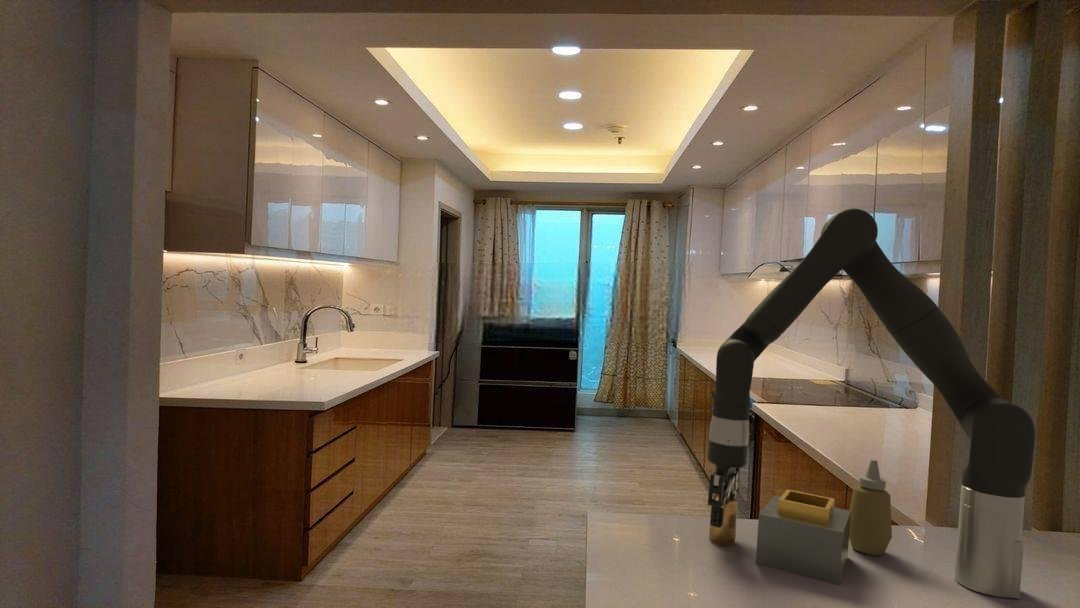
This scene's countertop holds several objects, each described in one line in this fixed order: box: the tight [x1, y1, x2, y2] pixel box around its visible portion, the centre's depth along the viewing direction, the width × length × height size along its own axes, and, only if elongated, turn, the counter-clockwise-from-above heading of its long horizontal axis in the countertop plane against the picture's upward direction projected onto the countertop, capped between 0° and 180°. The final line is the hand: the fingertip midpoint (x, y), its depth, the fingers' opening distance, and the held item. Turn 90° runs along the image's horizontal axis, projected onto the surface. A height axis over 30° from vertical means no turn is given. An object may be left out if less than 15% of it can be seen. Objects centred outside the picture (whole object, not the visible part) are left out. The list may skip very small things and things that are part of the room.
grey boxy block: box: [755, 489, 851, 585], centre depth 120 cm, size 14×15×12 cm
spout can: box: [708, 496, 739, 547], centre depth 128 cm, size 5×5×10 cm
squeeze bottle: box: [849, 459, 893, 556], centre depth 128 cm, size 8×8×18 cm
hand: (721, 520), depth 128 cm, fingers open, 8 cm apart
